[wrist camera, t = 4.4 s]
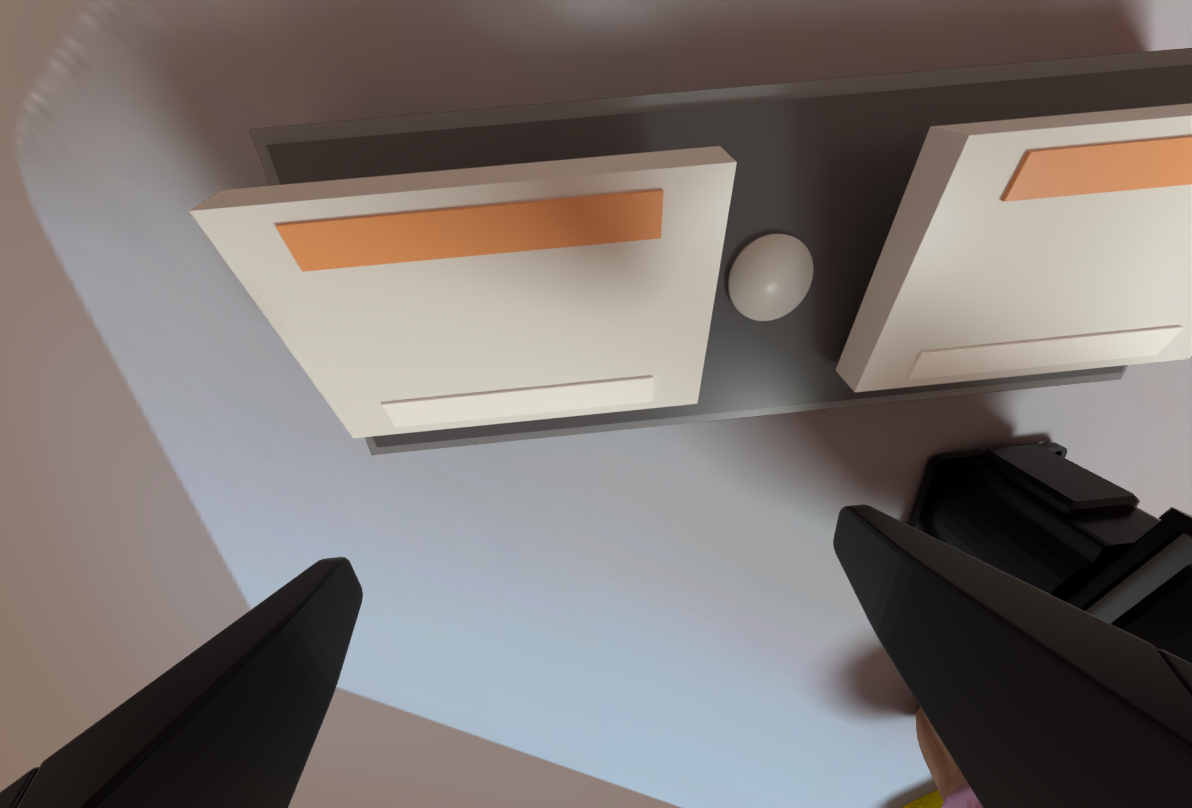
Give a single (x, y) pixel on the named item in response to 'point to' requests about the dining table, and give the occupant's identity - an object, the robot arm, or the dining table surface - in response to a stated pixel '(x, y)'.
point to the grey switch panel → (751, 205)
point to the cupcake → (943, 767)
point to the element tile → (927, 801)
